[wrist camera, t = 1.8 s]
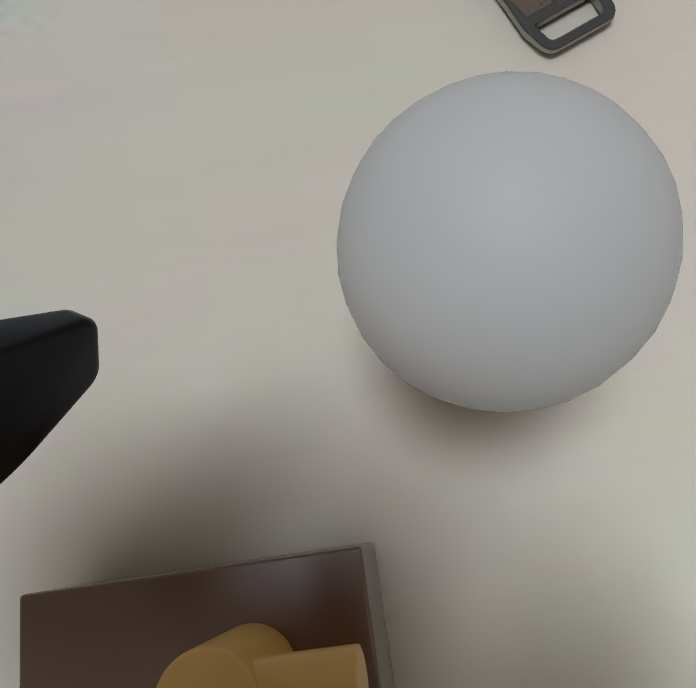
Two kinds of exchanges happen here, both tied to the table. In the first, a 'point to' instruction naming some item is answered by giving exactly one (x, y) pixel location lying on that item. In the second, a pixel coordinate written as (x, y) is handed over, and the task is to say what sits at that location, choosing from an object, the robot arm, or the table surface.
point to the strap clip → (546, 4)
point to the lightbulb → (510, 241)
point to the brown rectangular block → (202, 617)
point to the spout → (265, 663)
